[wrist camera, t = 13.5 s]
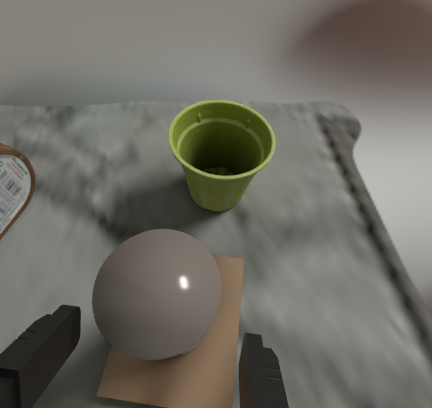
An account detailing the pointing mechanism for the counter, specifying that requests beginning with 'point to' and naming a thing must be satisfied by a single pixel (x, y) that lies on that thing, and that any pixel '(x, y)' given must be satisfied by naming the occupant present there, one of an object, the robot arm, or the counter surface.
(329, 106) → the counter surface
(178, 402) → the tan board
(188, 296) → the blue jar
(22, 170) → the tin
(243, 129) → the plant pot
